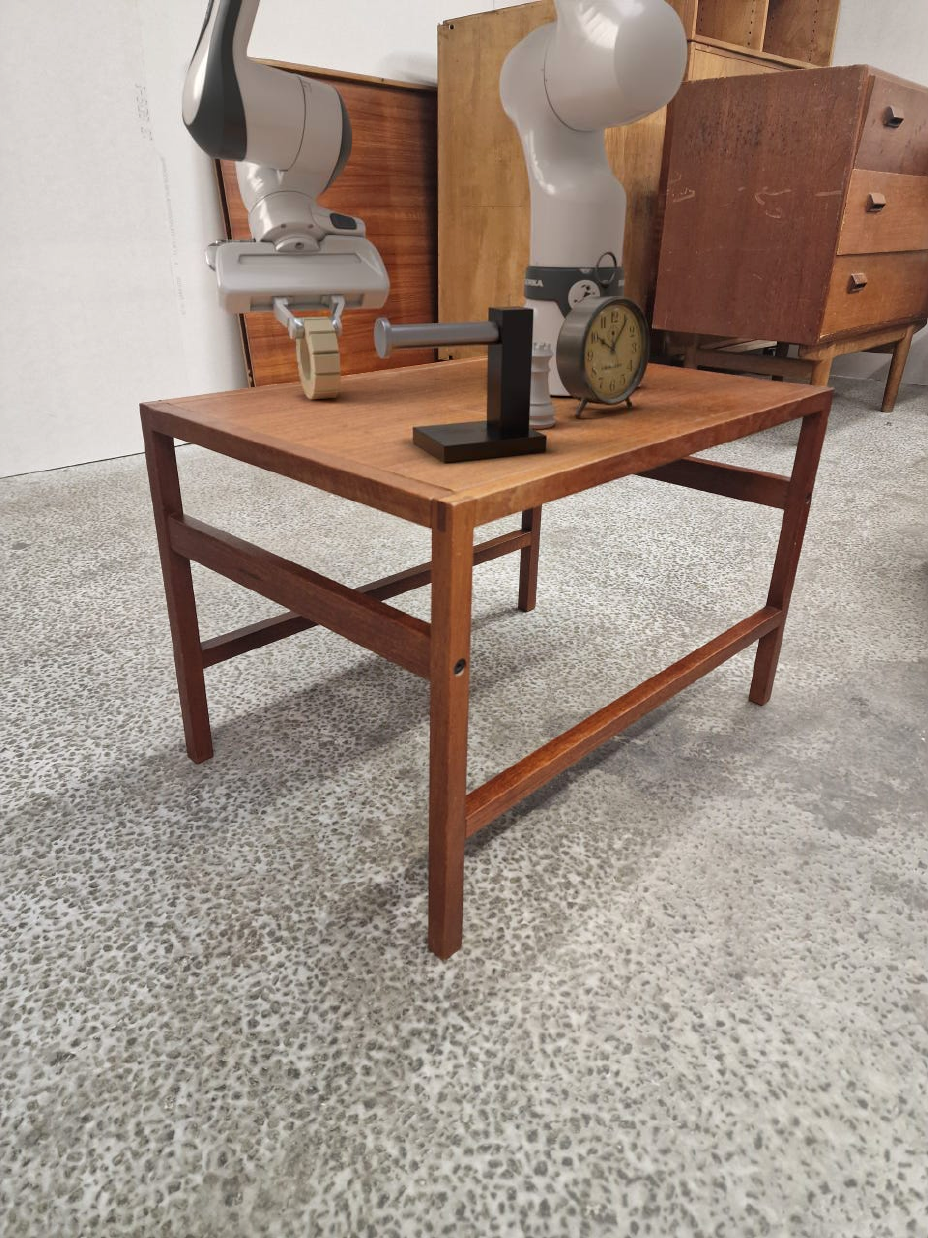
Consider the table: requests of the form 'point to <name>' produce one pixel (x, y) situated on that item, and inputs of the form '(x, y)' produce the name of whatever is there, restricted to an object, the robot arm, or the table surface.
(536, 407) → the rook chess piece
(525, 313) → the peg stand
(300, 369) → the notched ring
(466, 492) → the table surface
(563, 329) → the alarm clock
